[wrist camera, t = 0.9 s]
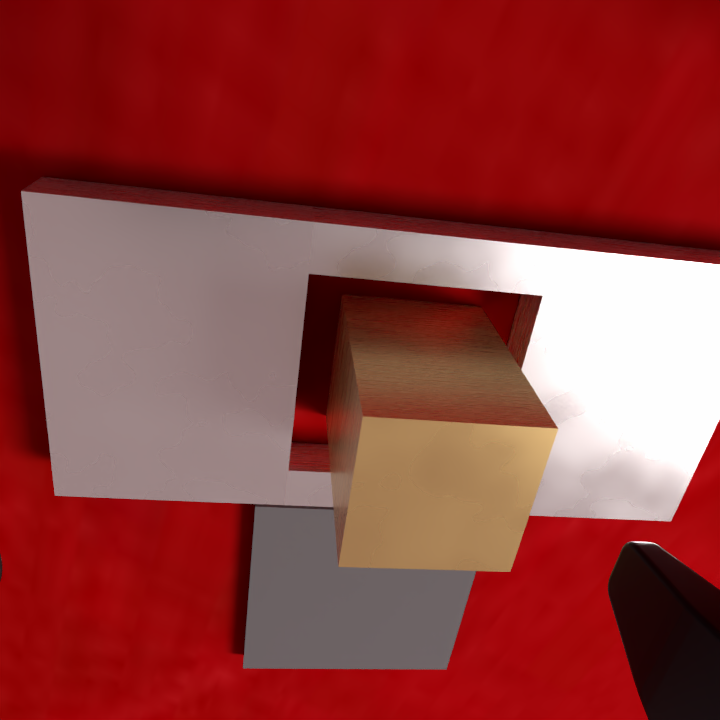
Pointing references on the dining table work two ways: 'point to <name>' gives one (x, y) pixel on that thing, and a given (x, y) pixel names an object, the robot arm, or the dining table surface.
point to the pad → (342, 602)
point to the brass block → (430, 438)
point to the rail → (284, 338)
